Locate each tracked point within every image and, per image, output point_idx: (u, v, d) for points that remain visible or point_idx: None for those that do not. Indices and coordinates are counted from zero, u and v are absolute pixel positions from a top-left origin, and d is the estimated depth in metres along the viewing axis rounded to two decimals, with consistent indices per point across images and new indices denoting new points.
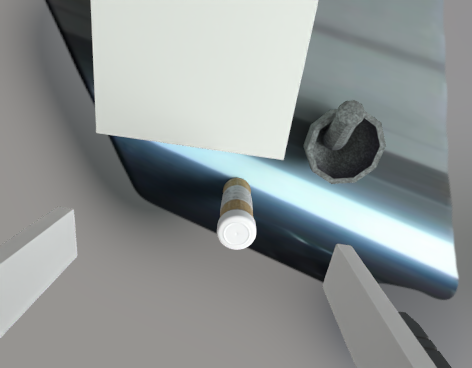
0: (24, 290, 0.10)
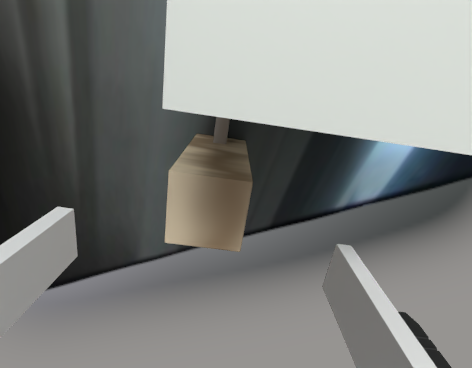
0: (24, 290, 0.10)
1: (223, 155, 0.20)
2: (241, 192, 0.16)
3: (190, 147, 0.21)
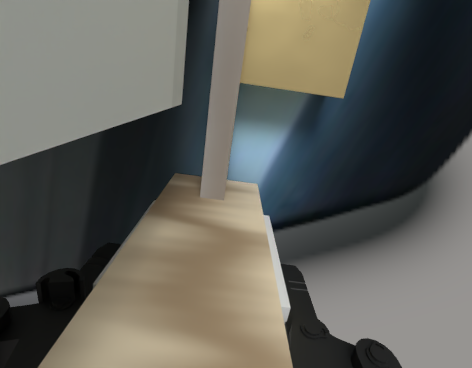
0: None
1: (216, 244, 0.09)
2: None
3: (148, 222, 0.10)
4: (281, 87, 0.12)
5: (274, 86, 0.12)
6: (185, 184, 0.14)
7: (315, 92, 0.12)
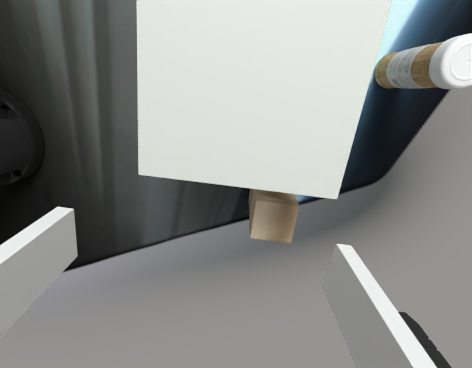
0: (24, 290, 0.10)
1: None
2: (292, 211, 0.30)
3: None
4: None
5: None
6: None
7: None
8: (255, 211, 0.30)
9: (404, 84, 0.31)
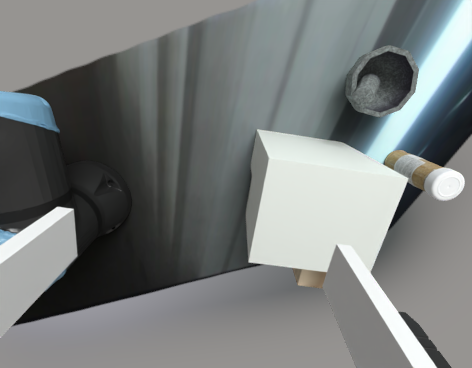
0: (24, 290, 0.10)
1: None
2: None
3: None
4: None
5: None
6: None
7: None
8: None
9: None
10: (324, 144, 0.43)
